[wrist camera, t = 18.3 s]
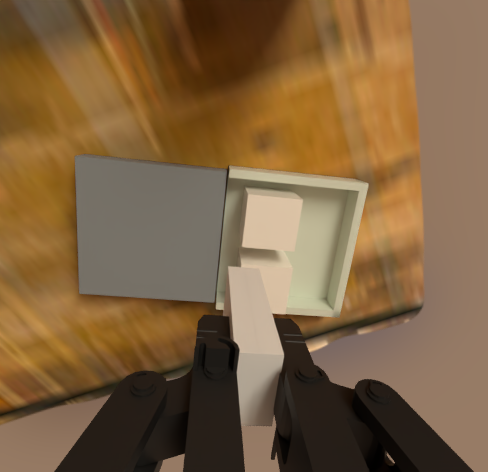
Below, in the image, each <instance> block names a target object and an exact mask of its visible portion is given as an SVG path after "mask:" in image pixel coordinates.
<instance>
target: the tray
mask: <svg viewBox="0 0 488 472" xmlns="http://www.w3.org/2000/svg"><path fill="white" fill-rule="evenodd" d="M244 185H245V186H255V187H265V188H274V189H284V190H292V191H293V192H294V193H296V194H297V195H298V196H299V197H300V198H302V199H303V203H302V209H301V215H300V221H299V227H298V233H297V239H296V245H295V251H294V252H292V251H284V252H285V254H286V256H287V258H288V260H289V262H290V264H291V265H292V267H293V272H292V278H291V284H290V289H289V295H288V301H287V307H286V313H285V314H294V315H310V316H325V317H340V312H341V307H342V303H343V298H344V294H345V289H346V285H347V280H348V276H349V271H350V266H351V262H352V257H353V253H354V248H355V244H356V239H357V235H358V230H359V226H360V221H361V216H362V212H363V207H364V203H365V198H366V194H367V189H368V185H369V184H368V183H365V182H363V181H360V180H357V179H351V178H341V177H332V176H323V175H313V174H304V173H295V172H285V171H276V170H267V169H258V168H248V167H239V166H230V165H229V169H228V179H227V189H226V200H225V210H224V220H223V230H222V240H221V251H220V261H219V271H218V281H217V291H216V309H218V310H223V309H224V300H225V291H226V282H227V272H228V266H231V267H236V265H237V256H238V247H242V245H241V240H240V234H239V228H240V219H241V210H242V201H243V192H244Z"/></svg>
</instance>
